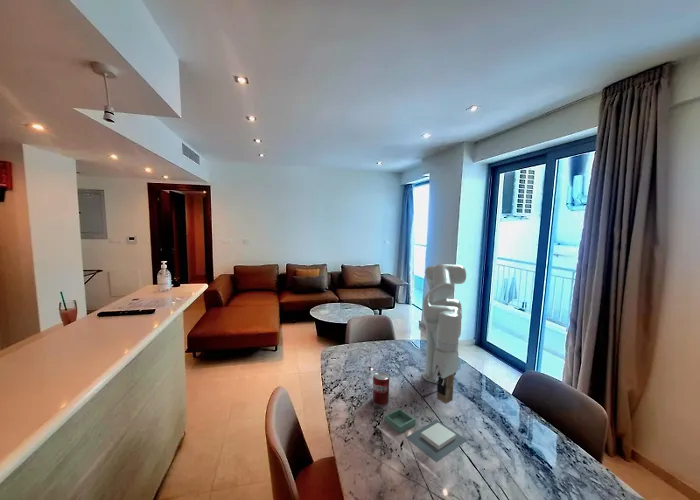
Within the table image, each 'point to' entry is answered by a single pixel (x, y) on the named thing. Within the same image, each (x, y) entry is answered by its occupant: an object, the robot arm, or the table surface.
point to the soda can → (380, 388)
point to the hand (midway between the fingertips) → (445, 390)
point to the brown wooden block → (447, 390)
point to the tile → (438, 435)
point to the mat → (429, 448)
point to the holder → (400, 420)
